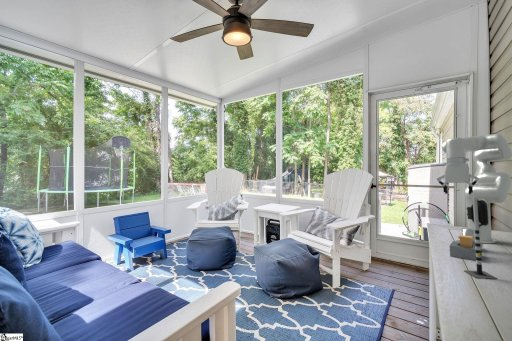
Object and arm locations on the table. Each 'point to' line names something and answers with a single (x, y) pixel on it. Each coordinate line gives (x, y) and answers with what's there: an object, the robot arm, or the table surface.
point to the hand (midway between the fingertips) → (457, 193)
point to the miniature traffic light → (478, 215)
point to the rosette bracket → (464, 247)
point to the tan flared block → (465, 240)
